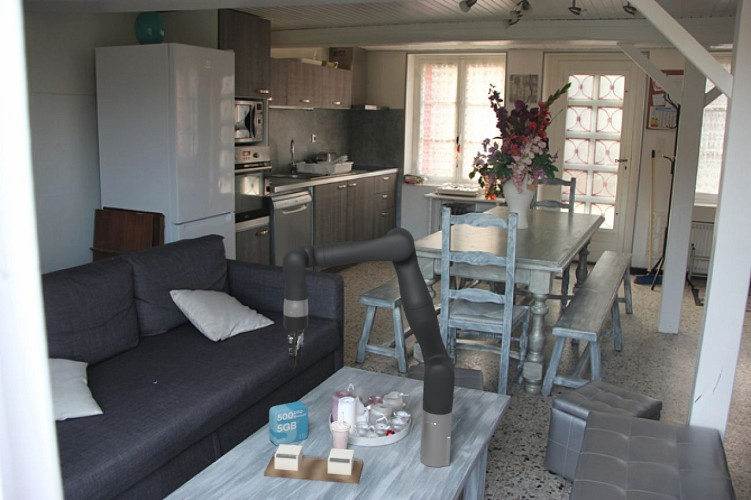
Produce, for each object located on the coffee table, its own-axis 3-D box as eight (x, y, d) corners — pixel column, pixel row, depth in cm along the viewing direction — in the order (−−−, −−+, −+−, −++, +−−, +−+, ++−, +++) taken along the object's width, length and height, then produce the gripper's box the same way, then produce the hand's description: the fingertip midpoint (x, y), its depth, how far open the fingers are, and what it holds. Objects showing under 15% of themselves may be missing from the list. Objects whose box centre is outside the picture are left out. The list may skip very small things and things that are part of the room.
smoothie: (342, 459, 217) (343, 417, 214) (325, 454, 220) (327, 412, 217) (353, 451, 222) (355, 410, 219) (337, 446, 225) (338, 405, 223)
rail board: (362, 464, 214) (363, 446, 213) (358, 483, 203) (358, 465, 201) (273, 456, 217) (274, 439, 216) (264, 476, 205) (264, 458, 204)
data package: (274, 447, 223) (274, 412, 221) (268, 441, 227) (269, 406, 225) (307, 439, 230) (308, 405, 227) (302, 433, 233) (302, 400, 231)
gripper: (303, 319, 206) (302, 371, 209) (312, 307, 220) (311, 356, 223) (278, 318, 207) (278, 369, 210) (289, 305, 221) (288, 354, 224)
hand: (295, 362), depth 217 cm, fingers open, 8 cm apart
